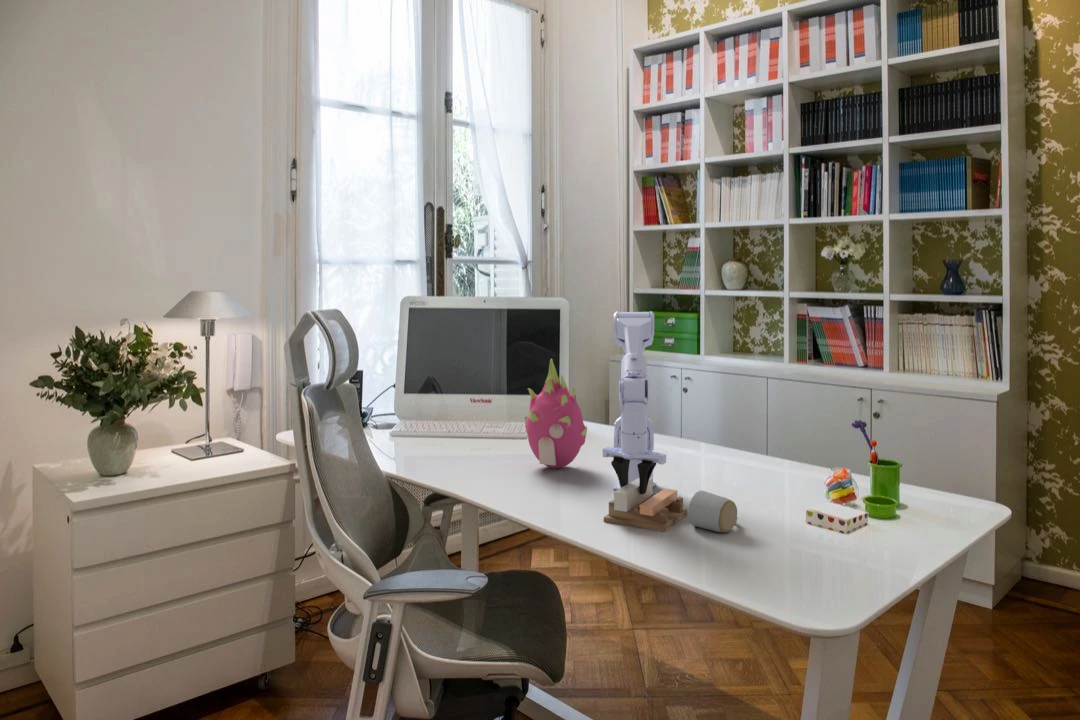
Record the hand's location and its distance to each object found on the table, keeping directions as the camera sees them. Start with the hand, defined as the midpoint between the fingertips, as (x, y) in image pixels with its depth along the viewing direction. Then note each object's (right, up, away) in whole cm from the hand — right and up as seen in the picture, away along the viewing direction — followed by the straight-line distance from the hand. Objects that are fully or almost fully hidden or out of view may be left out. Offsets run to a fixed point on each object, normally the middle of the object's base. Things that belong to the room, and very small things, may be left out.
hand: (633, 491), depth 180 cm
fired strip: (+5, -3, -3) cm, 6 cm away
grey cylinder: (+16, -7, -8) cm, 19 cm away
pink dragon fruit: (-17, -1, +43) cm, 46 cm away
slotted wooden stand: (+3, -6, -1) cm, 6 cm away
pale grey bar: (0, -2, 0) cm, 2 cm away
